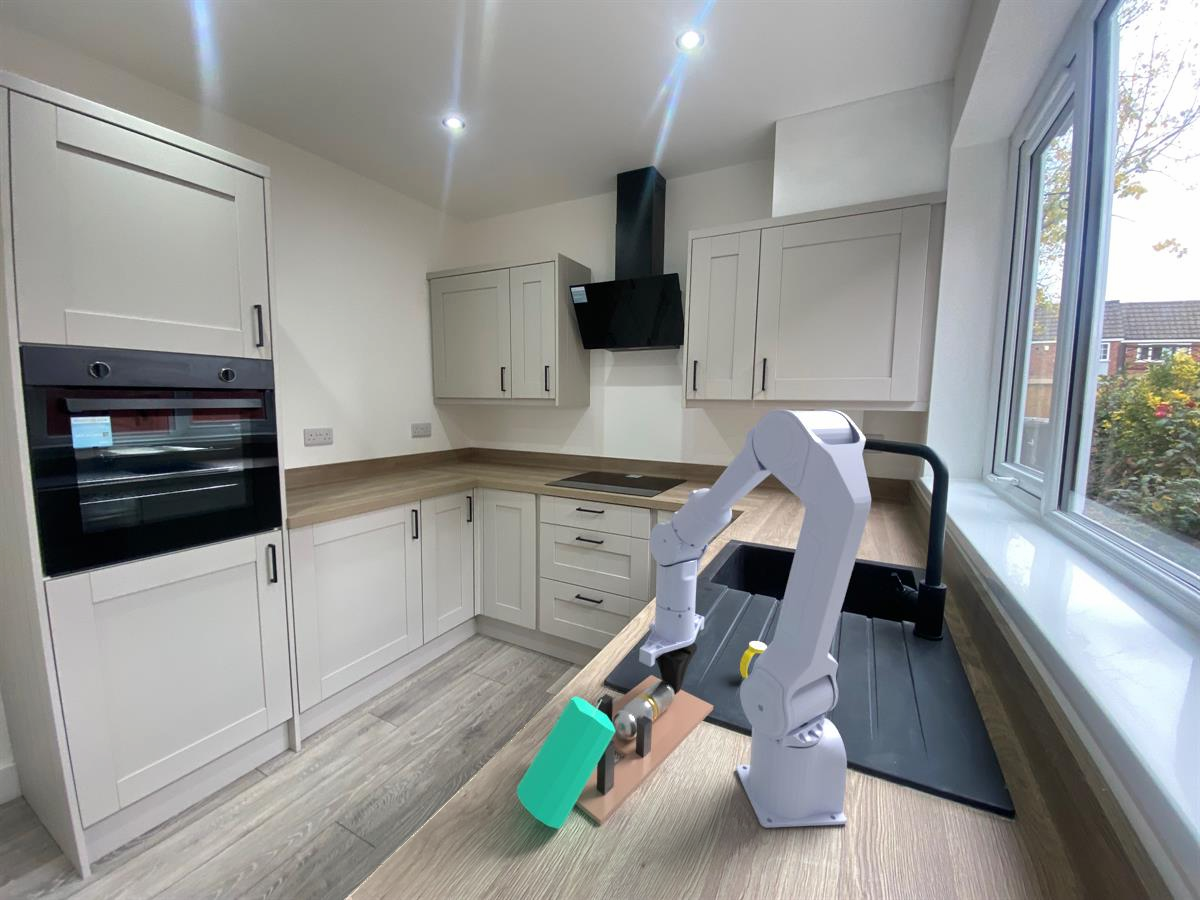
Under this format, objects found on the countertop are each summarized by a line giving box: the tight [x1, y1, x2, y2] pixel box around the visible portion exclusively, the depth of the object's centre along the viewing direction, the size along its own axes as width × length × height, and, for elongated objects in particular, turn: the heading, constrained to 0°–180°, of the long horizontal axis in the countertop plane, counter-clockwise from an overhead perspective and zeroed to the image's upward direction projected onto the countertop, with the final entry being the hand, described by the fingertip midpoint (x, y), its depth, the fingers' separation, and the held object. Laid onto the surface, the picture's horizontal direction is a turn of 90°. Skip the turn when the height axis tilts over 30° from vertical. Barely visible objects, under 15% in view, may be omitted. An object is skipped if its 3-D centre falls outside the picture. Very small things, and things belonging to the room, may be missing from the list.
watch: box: [739, 640, 768, 679], centre depth 75 cm, size 6×3×6 cm, turn 117°
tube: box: [613, 679, 675, 740], centre depth 64 cm, size 12×4×4 cm, turn 139°
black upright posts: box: [557, 693, 652, 796], centre depth 57 cm, size 9×8×6 cm
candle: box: [516, 696, 615, 830], centre depth 51 cm, size 6×6×12 cm
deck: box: [574, 674, 714, 826], centre depth 62 cm, size 25×11×1 cm, turn 139°
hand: (671, 690), depth 69 cm, fingers closed
